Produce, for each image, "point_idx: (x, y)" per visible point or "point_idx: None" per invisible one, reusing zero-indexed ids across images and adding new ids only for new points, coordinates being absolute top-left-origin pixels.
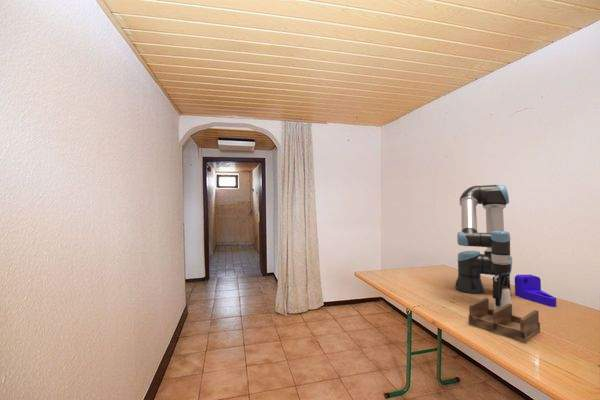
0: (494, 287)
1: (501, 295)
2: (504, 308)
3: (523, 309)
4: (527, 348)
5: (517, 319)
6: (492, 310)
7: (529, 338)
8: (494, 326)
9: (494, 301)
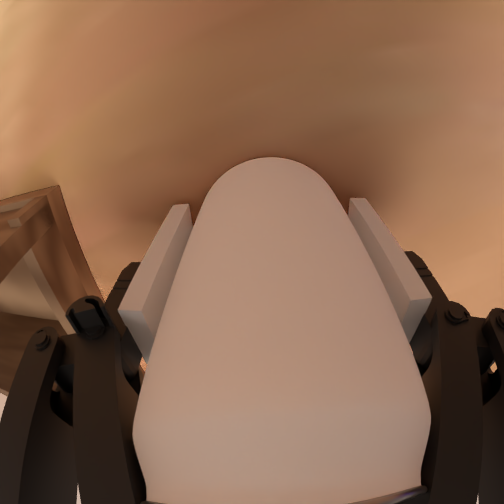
0: (8, 476)
1: None
2: (3, 393)
3: (445, 281)
4: None
5: None
6: (35, 276)
7: None
8: None
9: (200, 228)
